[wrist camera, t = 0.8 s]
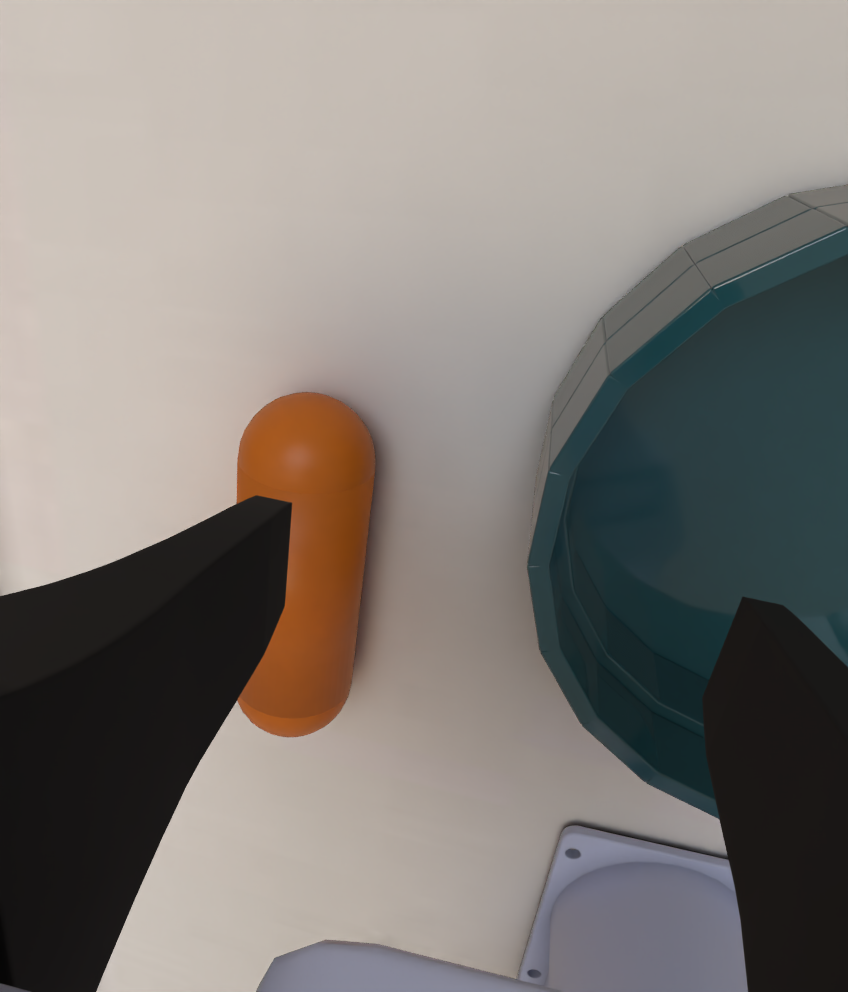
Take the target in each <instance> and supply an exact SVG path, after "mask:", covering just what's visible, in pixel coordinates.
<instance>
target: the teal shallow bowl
mask: <svg viewBox="0 0 848 992" xmlns="http://www.w3.org/2000/svg"><path fill="white" fill-rule="evenodd" d="M527 571H528V577H529V584H530V591H531V597H532V604H533V611H534V617H535V624H536V631H537V638H538V644H539V650H540V651H541V654H542V656H543V658H544V660H545V662H546V663H547V665H548V667H549V669H550V670H551V672H552V674H553V676H554V678H555V679H556V681H557V683H558V685H559V686H560V688H561V690H562V692H563V694H564V695H565V697H566V699H567V701H568V702H569V704H570V706H571V708H572V710H573V711H574V713H575V715H576V717H577V718H578V720H579V722H580V724H582V726H583V727H584V728H585V729H586V730H587V731H588V732H590V733H591V734H592V735H593V736H594V737H595V738H596V739H597V740H598V741H600V742H601V743H602V744H603V745H604V746H605V747H606V748H607V749H608V750H610V751H611V752H612V753H613V754H614V755H615V756H616V757H617V758H618V759H620V760H621V761H622V762H623V763H624V764H625V765H626V766H627V767H628V768H630V769H631V770H632V771H633V772H634V773H635V774H636V775H637V776H638V777H640V778H641V779H642V780H643V781H644V782H646V783H647V784H649V785H651V786H653V787H655V788H657V789H659V790H661V791H663V792H665V793H667V794H669V795H671V796H673V797H675V798H677V799H679V800H681V801H684V802H686V803H688V804H690V805H692V806H694V807H696V808H698V809H700V810H702V811H704V812H706V813H708V814H710V815H712V816H714V817H716V818H718V819H719V814H718V810H717V805H716V800H715V796H714V791H713V786H712V782H711V777H710V772H709V767H708V762H707V757H706V748H705V736H704V721H703V702H702V697H703V694H704V692H705V689H706V687H707V684H708V682H709V679H710V677H711V674H712V672H713V669H714V667H715V664H716V662H717V659H718V657H719V654H720V652H721V649H722V647H723V644H724V642H725V639H726V637H727V634H728V632H729V629H730V627H731V624H732V622H733V619H734V617H735V614H736V612H737V609H738V607H739V604H740V602H741V599H742V597H747V598H752V599H757V600H762V601H766V602H771V603H776V604H781V605H784V606H785V607H786V608H787V609H788V610H790V611H791V612H792V613H793V614H794V615H795V616H796V617H798V618H799V619H800V620H801V621H802V622H803V623H804V624H805V625H806V626H807V627H808V628H809V629H810V630H811V631H812V632H813V633H814V634H815V635H816V636H817V637H818V638H819V639H820V640H821V641H822V642H823V643H824V644H825V645H826V646H827V647H828V648H829V649H830V650H831V651H832V652H833V653H834V654H835V655H836V656H837V657H838V658H839V659H840V660H841V661H842V662H843V663H844V664H845V665H846V666H847V667H848V184H847V185H841V186H835V187H829V188H823V189H817V190H811V191H805V192H799V193H793V194H789V195H788V196H784V197H782V198H780V199H778V200H776V201H773V202H771V203H769V204H767V205H765V206H763V207H761V208H759V209H757V210H755V211H753V212H750V213H748V214H746V215H744V216H742V217H740V218H738V219H736V220H734V221H732V222H730V223H728V224H725V225H723V226H721V227H719V228H717V229H715V230H713V231H711V232H709V233H707V234H705V235H703V236H700V237H698V238H696V239H694V240H692V241H690V242H688V243H686V244H685V245H684V247H680V248H679V249H677V250H676V251H675V252H674V253H673V254H672V255H671V256H670V257H669V258H667V259H666V260H665V261H664V262H663V263H662V264H661V265H660V266H658V267H657V268H656V269H655V270H654V271H653V272H652V273H651V274H650V275H648V276H647V277H646V278H645V279H644V280H643V281H642V282H641V283H639V284H638V285H637V286H636V287H635V288H634V289H633V290H632V291H631V292H629V293H628V294H627V295H626V296H625V297H624V298H623V299H622V300H620V301H619V302H618V303H617V304H616V305H615V306H614V307H613V308H611V309H610V310H609V311H608V312H607V313H606V314H605V315H604V318H601V319H600V321H599V323H598V324H597V326H596V328H595V329H594V331H593V333H592V334H591V336H590V338H589V339H588V341H587V343H586V344H585V346H584V348H583V349H582V351H581V353H580V354H579V356H578V358H577V359H576V361H575V362H574V364H573V366H572V367H571V369H570V371H569V372H568V374H567V376H566V377H565V379H564V381H563V382H562V384H561V386H560V387H559V389H558V391H557V392H556V394H555V396H554V400H553V402H552V406H551V410H550V415H549V419H548V424H547V429H546V433H545V438H544V442H543V447H542V452H541V456H540V461H539V465H538V470H537V475H536V481H535V491H534V501H533V511H532V519H531V529H530V539H529V549H528V559H527Z"/></svg>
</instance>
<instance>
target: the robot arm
mask: <svg viewBox="0 0 848 992" xmlns="http://www.w3.org/2000/svg"><path fill="white" fill-rule="evenodd" d="M291 514H292V503H291V502H287V501H282V500H277V499H272V498H267V497H263V496H258V495H256V496H253V497H251V498H248V499H246V500H244V501H242V502H240V503H238V504H236V505H234V506H232V507H230V508H228V509H226V510H224V511H222V512H220V513H218V514H216V515H214V516H212V517H210V518H208V519H206V520H204V521H202V522H200V523H198V524H196V525H194V526H192V527H190V528H188V529H186V530H184V531H182V532H180V533H178V534H176V535H174V536H172V537H170V538H168V539H166V540H163V541H161V542H159V543H156V544H154V545H152V546H149V547H147V548H145V549H143V550H140V551H138V552H136V553H133V554H131V555H129V556H127V557H124V558H122V559H120V560H117V561H115V562H112V563H109V564H107V565H104V566H102V567H99V568H96V569H93V570H91V571H88V572H85V573H82V574H79V575H76V576H72V577H69V578H66V579H63V580H60V581H57V582H54V583H50V584H47V585H44V586H40V587H36V588H32V589H28V590H24V591H20V592H16V593H12V594H8V595H4V596H0V992H96V991H97V988H98V986H99V983H100V981H101V978H102V976H103V973H104V971H105V968H106V966H107V964H108V961H109V959H110V957H111V954H112V952H113V949H114V947H115V945H116V942H117V940H118V938H119V935H120V933H121V930H122V928H123V926H124V923H125V921H126V919H127V916H128V914H129V911H130V909H131V907H132V904H133V902H134V900H135V897H136V895H137V893H138V891H139V888H140V886H141V884H142V882H143V879H144V877H145V875H146V873H147V870H148V868H149V866H150V864H151V862H152V859H153V857H154V855H155V853H156V850H157V848H158V846H159V844H160V841H161V839H162V837H163V835H164V833H165V831H166V828H167V826H168V824H169V822H170V820H171V818H172V816H173V814H174V811H175V809H176V807H177V805H178V803H179V801H180V799H181V796H182V794H183V792H184V790H185V788H186V786H187V784H188V782H189V780H190V778H191V777H192V775H193V773H194V771H195V769H196V767H197V766H198V764H199V762H200V760H201V759H202V757H203V755H204V754H205V752H206V750H207V749H208V747H209V745H210V744H211V742H212V740H213V739H214V737H215V736H216V734H217V732H218V731H219V729H220V727H221V726H222V724H223V722H224V721H225V719H226V717H227V716H228V714H229V713H230V711H231V709H232V708H233V706H234V704H235V703H236V701H237V699H238V698H239V696H240V694H241V693H242V691H243V690H244V688H245V686H246V684H247V683H248V681H249V679H250V678H251V676H252V674H253V673H254V671H255V669H256V668H257V666H258V664H259V663H260V661H261V659H262V658H263V656H264V654H265V651H266V649H267V647H268V645H269V642H270V640H271V638H272V636H273V633H274V631H275V629H276V626H277V624H278V621H279V619H280V617H281V614H282V612H283V609H284V607H285V598H286V584H287V570H288V556H289V542H290V528H291ZM702 702H703V721H704V736H705V748H706V757H707V762H708V767H709V772H710V777H711V782H712V786H713V791H714V796H715V800H716V805H717V810H718V814H719V819H720V823H721V828H722V832H723V837H724V841H725V846H726V850H727V855H728V859H729V860H727V859H722V858H718V857H713V856H709V855H705V854H700V853H696V852H691V851H687V850H683V849H678V848H674V847H669V846H665V845H661V844H656V843H652V842H647V841H643V840H639V839H634V838H630V837H625V836H621V835H617V834H612V833H608V832H603V831H599V830H595V829H590V828H586V827H581V826H574V825H573V826H568V827H567V828H565V829H564V830H563V831H562V833H561V836H560V839H559V843H558V846H557V849H556V852H555V856H554V859H553V862H552V865H551V869H550V872H549V875H548V878H547V882H546V885H545V888H544V891H543V895H542V898H541V901H540V905H539V908H538V911H537V914H536V918H535V921H534V924H533V927H532V931H531V934H530V937H529V940H528V944H527V947H526V950H525V953H524V957H523V960H522V963H521V966H520V970H519V973H518V976H517V979H514V978H510V977H506V976H502V975H498V974H494V973H490V972H486V971H482V970H478V969H474V968H470V967H466V966H462V965H459V964H455V963H451V962H447V961H443V960H439V959H435V958H431V957H427V956H423V955H419V954H415V953H411V952H407V951H403V950H400V949H396V948H392V947H388V946H384V945H380V944H372V943H360V942H348V941H336V940H324V941H321V942H318V943H315V944H312V945H309V946H307V947H304V948H301V949H298V950H295V951H292V952H289V953H287V954H284V955H281V956H279V957H276V958H274V960H273V962H272V963H271V965H270V967H269V969H268V970H267V972H266V974H265V976H264V977H263V979H262V981H261V983H260V984H259V986H258V988H257V991H256V992H848V667H847V666H846V665H845V664H844V663H843V662H842V661H841V660H840V659H839V658H838V657H837V656H836V655H835V654H834V653H833V652H832V651H831V650H830V649H829V648H828V647H827V646H826V645H825V644H824V643H823V642H822V641H821V640H820V639H819V638H818V637H817V636H816V635H815V634H814V633H813V632H812V631H811V630H810V629H809V628H808V627H807V626H806V625H805V624H804V623H803V622H802V621H801V620H800V619H799V618H798V617H796V616H795V615H794V614H793V613H792V612H791V611H790V610H788V609H787V608H786V607H785V606H784V605H781V604H776V603H771V602H766V601H762V600H757V599H752V598H747V597H742V599H741V602H740V604H739V607H738V609H737V612H736V614H735V617H734V619H733V622H732V624H731V627H730V629H729V632H728V634H727V637H726V639H725V642H724V644H723V647H722V649H721V652H720V654H719V657H718V659H717V662H716V664H715V667H714V669H713V672H712V674H711V677H710V679H709V682H708V684H707V687H706V689H705V692H704V694H703V697H702ZM573 849H576V850H573Z"/></svg>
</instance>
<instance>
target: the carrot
mask: <svg viewBox="0 0 848 992" xmlns="http://www.w3.org/2000/svg"><path fill="white" fill-rule="evenodd" d="M374 476H375V450H374V446H373V441H372V438H371V436H370V434H369V431H368V429H367V427H366V426H365V424H364V423H363V421H362V420H361V419H360V417H359V416H358V415H357V414H356V413H355V412H354V411H353V410H352V409H350V408H349V407H348V406H347V405H345V404H344V403H342V402H341V401H339V400H336V399H334V398H332V397H329V396H327V395H323V394H319V393H310V392H302V393H294V394H290V395H286V396H283V397H280V398H278V399H276V400H274V401H272V402H271V403H269V404H267V405H266V406H264V407H263V408H262V409H261V410H260V411H259V412H258V413H257V414H256V415H255V416H254V417H253V418H252V420H251V421H250V423H249V424H248V426H247V427H246V429H245V431H244V433H243V436H242V438H241V441H240V446H239V453H238V463H237V504H238V503H240V502H242V501H244V500H246V499H248V498H251V497H253V496H256V495H258V496H263V497H267V498H272V499H277V500H282V501H287V502H291V503H292V514H291V528H290V542H289V556H288V570H287V584H286V598H285V607H284V609H283V612H282V614H281V617H280V619H279V621H278V624H277V626H276V629H275V631H274V633H273V636H272V638H271V640H270V642H269V645H268V647H267V649H266V651H265V654H264V656H263V658H262V659H261V661H260V663H259V664H258V666H257V668H256V669H255V671H254V673H253V674H252V676H251V678H250V679H249V681H248V683H247V684H246V686H245V688H244V690H243V691H242V693H241V694H240V696H239V698H238V699H237V701H238V703H239V705H240V707H241V709H242V711H243V712H244V714H245V715H246V716H247V717H248V718H249V719H250V721H251V722H252V723H253V724H255V725H256V726H257V727H259V728H260V729H262V730H264V731H266V732H268V733H270V734H274V735H277V736H282V737H299V736H304V735H308V734H311V733H313V732H315V731H317V730H319V729H321V728H323V727H325V726H326V725H327V724H329V723H330V722H331V721H332V720H333V719H334V718H335V717H336V716H337V715H338V713H339V712H340V711H341V709H342V707H343V705H344V704H345V702H346V700H347V698H348V695H349V691H350V687H351V683H352V674H353V665H354V656H355V647H356V638H357V629H358V620H359V611H360V602H361V593H362V584H363V575H364V566H365V557H366V548H367V539H368V530H369V521H370V512H371V503H372V494H373V485H374Z"/></svg>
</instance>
